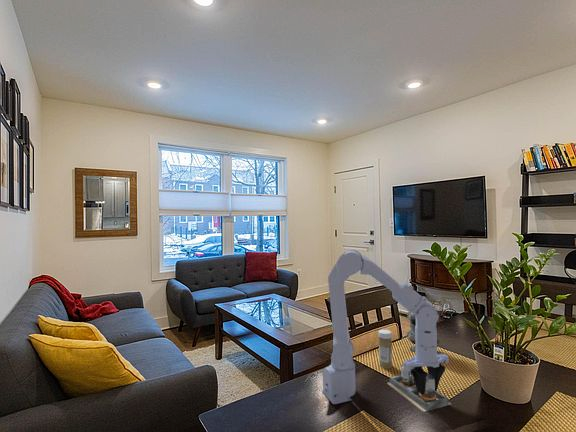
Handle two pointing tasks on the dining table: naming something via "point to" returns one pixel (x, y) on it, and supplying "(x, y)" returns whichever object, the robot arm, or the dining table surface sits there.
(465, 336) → the dining table surface
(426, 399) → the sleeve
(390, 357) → the sprinkles bottle
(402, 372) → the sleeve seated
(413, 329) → the apothecary jar
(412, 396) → the board
